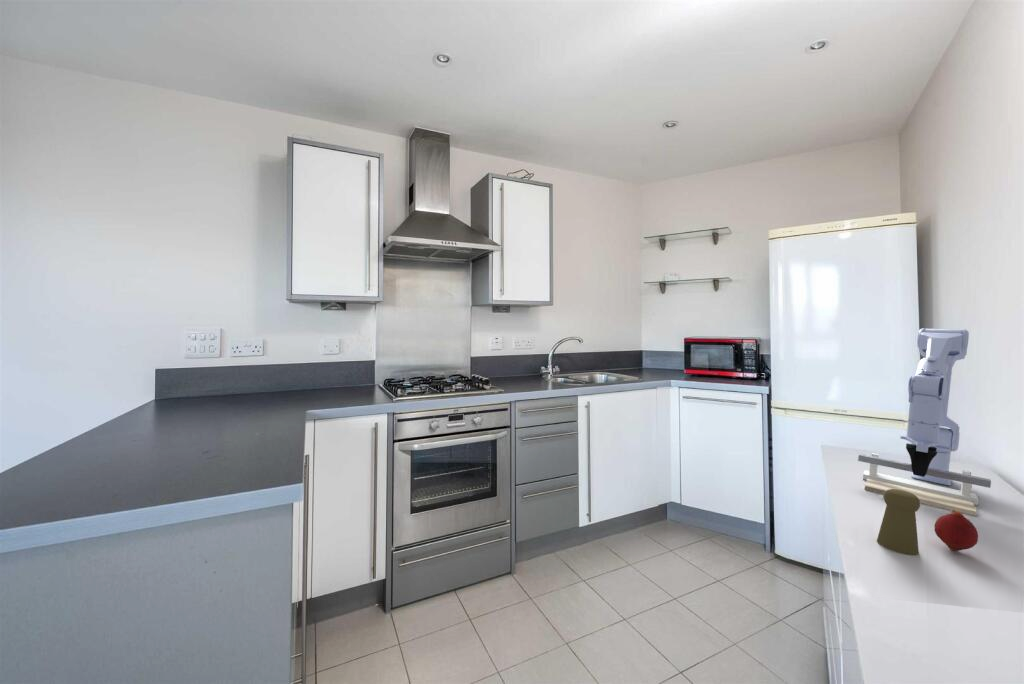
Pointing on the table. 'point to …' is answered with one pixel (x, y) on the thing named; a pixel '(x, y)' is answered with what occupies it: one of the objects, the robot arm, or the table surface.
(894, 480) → the bracket stand
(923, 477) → the robot arm
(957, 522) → the onion
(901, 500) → the cork
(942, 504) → the beech board
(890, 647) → the table surface
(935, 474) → the steel rail
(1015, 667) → the table surface
